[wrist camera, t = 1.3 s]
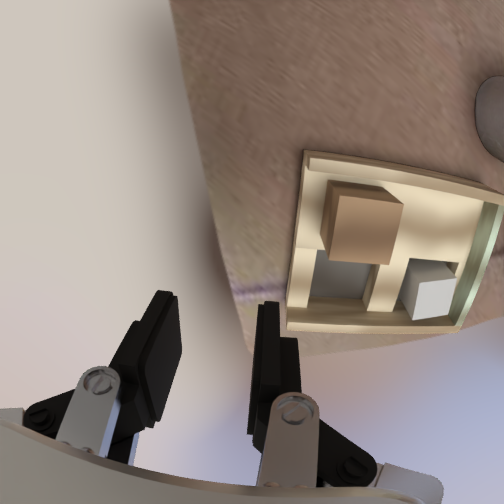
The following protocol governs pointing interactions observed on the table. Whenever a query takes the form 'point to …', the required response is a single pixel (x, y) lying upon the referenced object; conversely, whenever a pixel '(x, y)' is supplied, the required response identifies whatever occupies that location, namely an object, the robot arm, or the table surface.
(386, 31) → the table surface
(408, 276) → the trapped grey block
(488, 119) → the pillar candle
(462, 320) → the tray
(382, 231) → the walnut block
